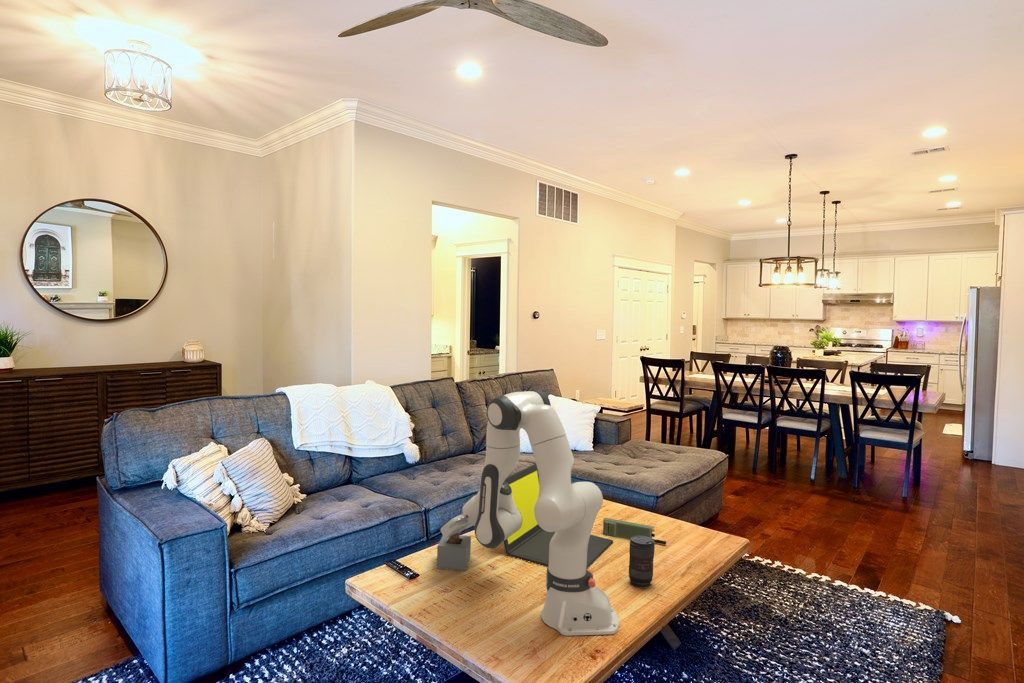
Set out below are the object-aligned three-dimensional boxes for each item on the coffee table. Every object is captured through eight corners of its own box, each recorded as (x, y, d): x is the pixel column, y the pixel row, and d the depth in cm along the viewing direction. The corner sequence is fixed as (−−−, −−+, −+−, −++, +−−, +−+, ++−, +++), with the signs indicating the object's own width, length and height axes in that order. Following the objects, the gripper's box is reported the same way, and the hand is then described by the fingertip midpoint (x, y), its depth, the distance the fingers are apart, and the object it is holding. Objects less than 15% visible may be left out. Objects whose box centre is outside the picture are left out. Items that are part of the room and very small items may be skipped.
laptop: (579, 577, 192) (582, 501, 190) (492, 552, 209) (494, 482, 208) (613, 543, 221) (615, 477, 219) (533, 524, 238) (536, 463, 237)
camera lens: (657, 583, 188) (659, 539, 188) (644, 591, 182) (647, 546, 182) (636, 575, 194) (637, 532, 193) (623, 583, 188) (625, 539, 187)
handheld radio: (604, 532, 232) (666, 544, 221) (602, 535, 229) (665, 547, 218) (604, 516, 231) (667, 528, 221) (602, 519, 228) (666, 531, 218)
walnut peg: (459, 548, 200) (460, 520, 200) (458, 552, 197) (458, 524, 196) (450, 547, 200) (450, 519, 200) (448, 551, 197) (448, 523, 196)
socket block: (470, 558, 203) (470, 536, 203) (465, 570, 193) (466, 547, 193) (442, 556, 204) (443, 534, 204) (436, 568, 194) (437, 545, 194)
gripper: (460, 529, 183) (437, 550, 189) (498, 511, 199) (475, 532, 206) (450, 512, 185) (428, 534, 191) (488, 496, 202) (466, 517, 208)
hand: (453, 532), depth 199 cm, fingers closed on walnut peg, 3 cm apart
